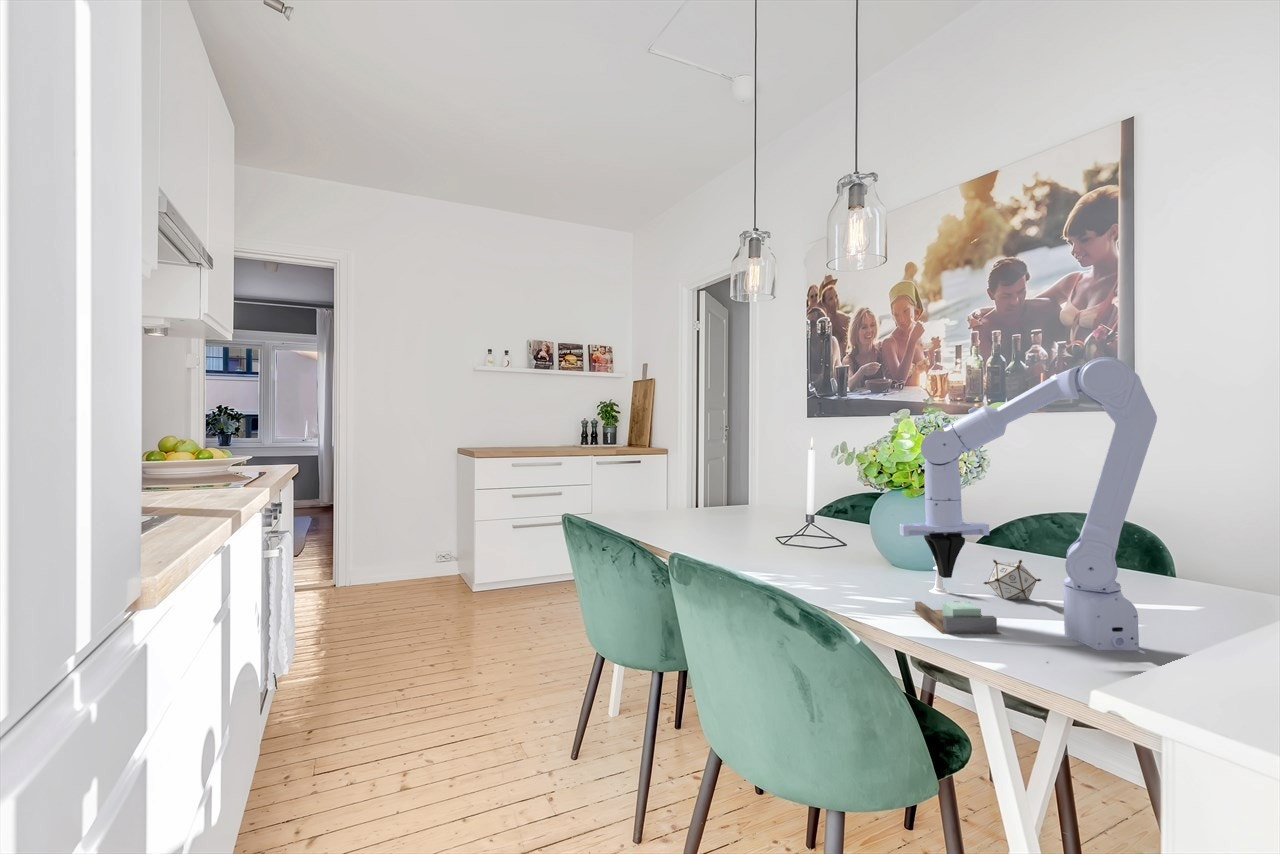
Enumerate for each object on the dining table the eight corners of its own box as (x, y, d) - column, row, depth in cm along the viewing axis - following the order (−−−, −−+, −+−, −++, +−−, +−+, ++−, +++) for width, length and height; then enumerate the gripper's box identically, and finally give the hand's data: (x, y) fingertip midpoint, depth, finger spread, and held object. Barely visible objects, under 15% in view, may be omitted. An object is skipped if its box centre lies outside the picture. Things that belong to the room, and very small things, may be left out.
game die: (1014, 618, 119) (1033, 574, 121) (1037, 615, 111) (1056, 568, 113) (969, 593, 121) (989, 551, 124) (988, 589, 113) (1008, 543, 116)
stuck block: (981, 630, 98) (980, 609, 98) (953, 630, 98) (952, 609, 98) (969, 622, 102) (969, 602, 102) (942, 622, 102) (942, 602, 102)
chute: (1001, 640, 97) (1000, 618, 97) (942, 639, 97) (942, 618, 97) (963, 615, 110) (962, 595, 110) (912, 615, 110) (911, 596, 110)
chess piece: (938, 601, 119) (937, 550, 119) (920, 594, 124) (919, 545, 124) (959, 598, 120) (957, 548, 120) (940, 592, 125) (939, 543, 125)
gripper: (974, 495, 110) (976, 570, 110) (892, 497, 111) (894, 571, 111) (994, 500, 103) (997, 580, 103) (907, 501, 104) (909, 581, 104)
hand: (945, 576), depth 106 cm, fingers closed
